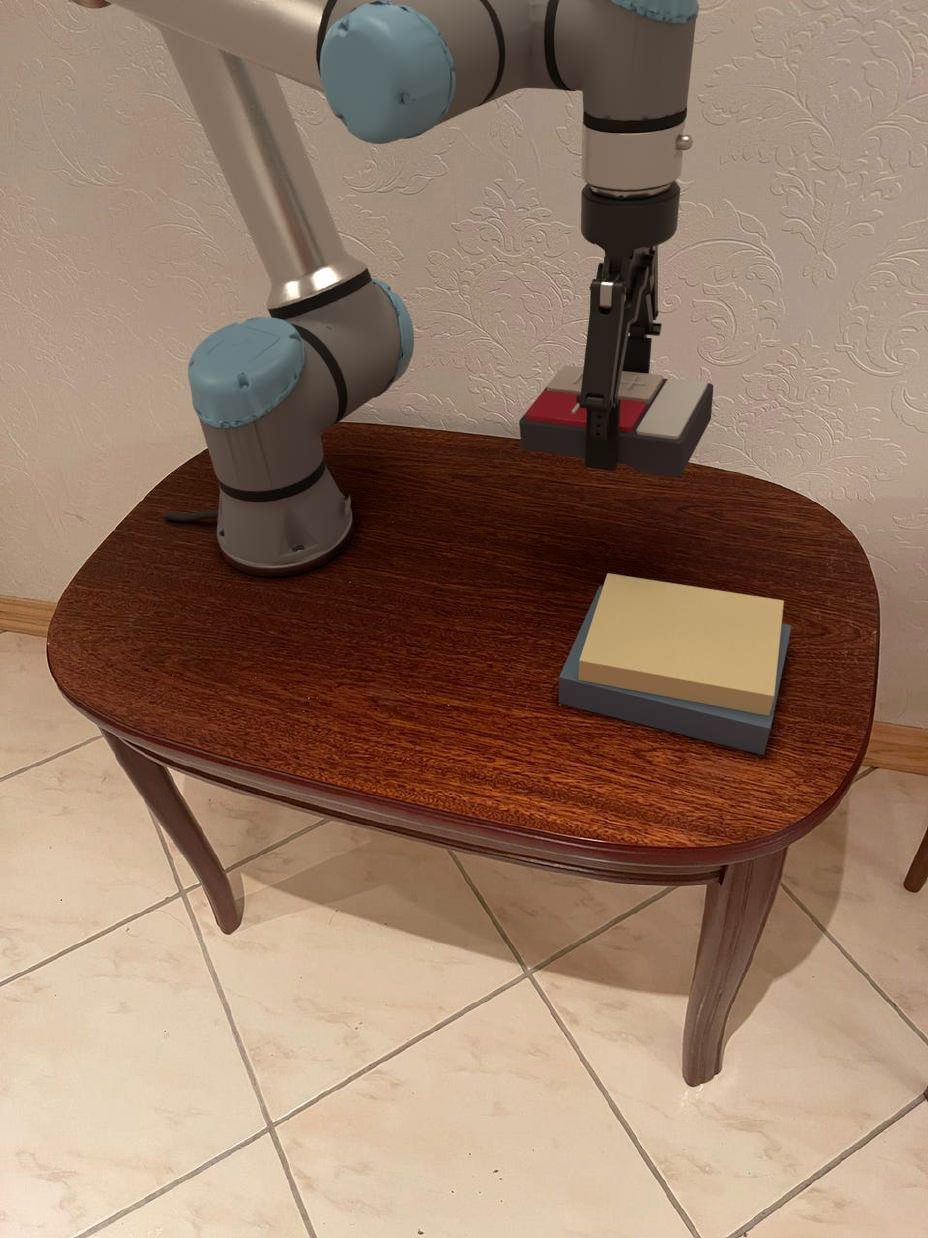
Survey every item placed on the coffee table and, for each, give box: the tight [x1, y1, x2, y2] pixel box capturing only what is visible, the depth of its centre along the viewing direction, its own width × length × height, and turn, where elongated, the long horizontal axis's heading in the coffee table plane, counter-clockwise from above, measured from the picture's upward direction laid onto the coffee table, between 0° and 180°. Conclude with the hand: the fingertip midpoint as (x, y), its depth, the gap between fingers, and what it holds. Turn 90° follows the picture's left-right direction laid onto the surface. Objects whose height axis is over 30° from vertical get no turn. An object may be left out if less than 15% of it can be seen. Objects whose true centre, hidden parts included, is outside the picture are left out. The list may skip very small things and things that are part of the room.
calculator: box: [518, 365, 714, 479], centre depth 81 cm, size 11×4×15 cm
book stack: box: [558, 572, 792, 756], centre depth 80 cm, size 18×13×6 cm
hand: (617, 432), depth 83 cm, fingers closed on calculator, 11 cm apart
